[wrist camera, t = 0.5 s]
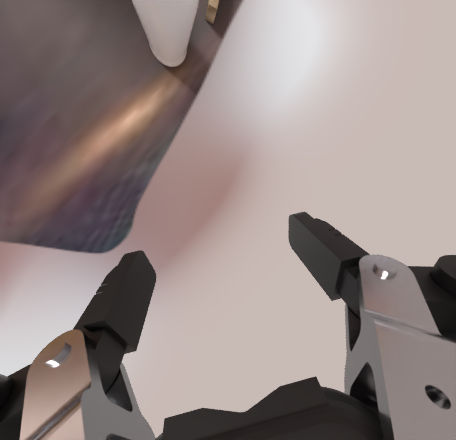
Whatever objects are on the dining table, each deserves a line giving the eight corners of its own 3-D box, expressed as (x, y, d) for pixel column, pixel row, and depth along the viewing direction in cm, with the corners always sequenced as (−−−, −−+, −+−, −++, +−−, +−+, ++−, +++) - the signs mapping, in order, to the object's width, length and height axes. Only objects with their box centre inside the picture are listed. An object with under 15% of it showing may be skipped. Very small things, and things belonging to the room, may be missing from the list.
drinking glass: (193, 24, 24) (212, -125, 11) (189, 80, 27) (202, 12, 13) (142, 3, 22) (91, -212, 9) (143, 66, 25) (104, -31, 11)
